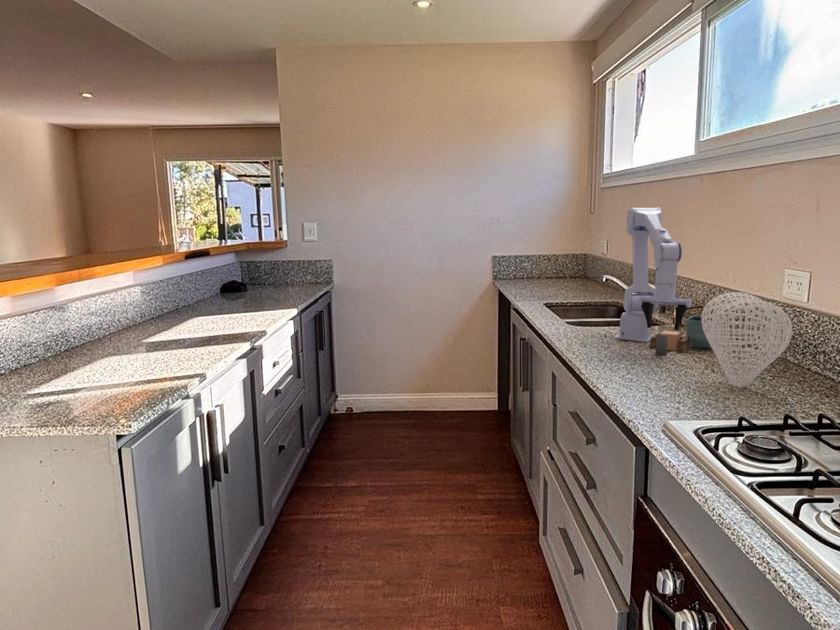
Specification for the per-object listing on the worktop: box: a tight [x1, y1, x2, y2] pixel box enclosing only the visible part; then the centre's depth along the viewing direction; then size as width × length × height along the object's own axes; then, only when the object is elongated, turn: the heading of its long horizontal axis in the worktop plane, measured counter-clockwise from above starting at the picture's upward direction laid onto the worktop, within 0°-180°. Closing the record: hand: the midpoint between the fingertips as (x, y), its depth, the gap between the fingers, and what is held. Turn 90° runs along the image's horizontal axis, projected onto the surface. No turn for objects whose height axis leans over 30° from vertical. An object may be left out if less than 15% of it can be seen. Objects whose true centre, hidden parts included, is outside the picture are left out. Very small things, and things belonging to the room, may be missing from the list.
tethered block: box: [655, 330, 682, 356], centre depth 175 cm, size 5×14×6 cm, turn 143°
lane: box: [649, 333, 691, 353], centre depth 179 cm, size 10×8×4 cm
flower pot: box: [685, 315, 720, 349], centre depth 181 cm, size 9×9×9 cm
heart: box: [701, 291, 793, 389], centre depth 135 cm, size 28×16×22 cm, turn 164°
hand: (662, 328), depth 170 cm, fingers open, 7 cm apart
